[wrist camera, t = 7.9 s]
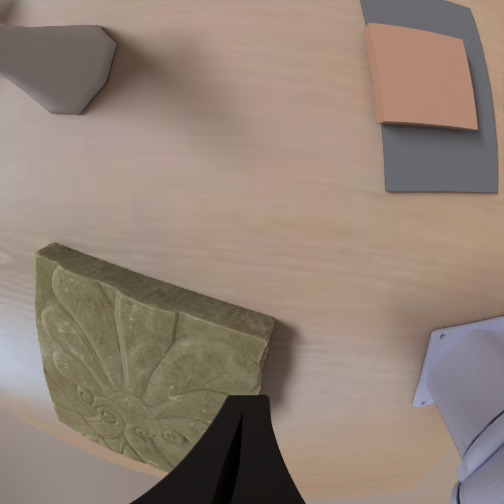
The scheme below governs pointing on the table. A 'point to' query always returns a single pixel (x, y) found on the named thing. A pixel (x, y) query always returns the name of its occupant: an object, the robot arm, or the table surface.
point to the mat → (433, 138)
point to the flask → (57, 63)
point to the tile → (419, 78)
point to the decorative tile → (140, 355)
